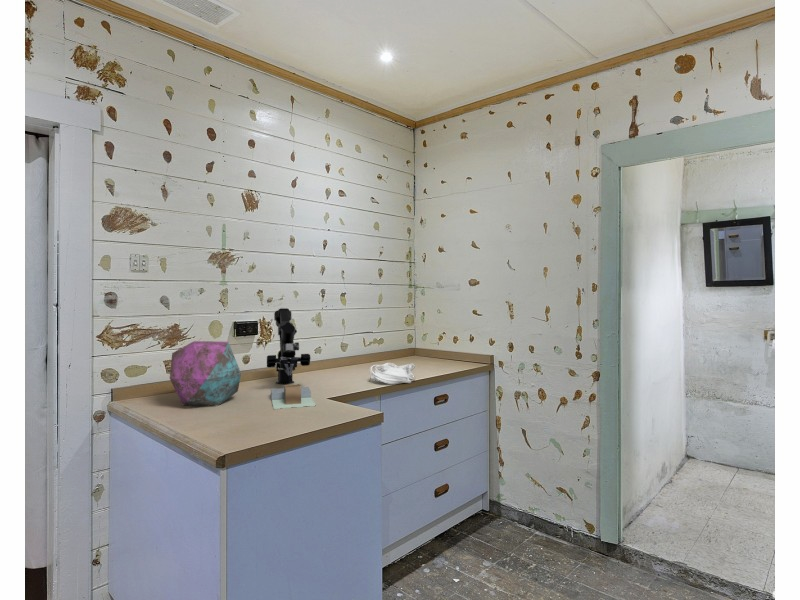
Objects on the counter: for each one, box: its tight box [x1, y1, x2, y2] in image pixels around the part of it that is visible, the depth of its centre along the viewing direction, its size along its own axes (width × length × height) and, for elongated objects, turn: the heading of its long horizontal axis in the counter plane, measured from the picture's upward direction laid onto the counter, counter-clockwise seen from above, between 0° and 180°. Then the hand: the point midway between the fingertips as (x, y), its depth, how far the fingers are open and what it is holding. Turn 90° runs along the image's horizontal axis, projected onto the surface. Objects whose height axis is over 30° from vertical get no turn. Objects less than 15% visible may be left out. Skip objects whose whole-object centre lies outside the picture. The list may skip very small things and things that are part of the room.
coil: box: [369, 362, 416, 385], centre depth 239 cm, size 25×24×9 cm
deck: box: [270, 386, 312, 401], centre depth 204 cm, size 9×16×3 cm, turn 108°
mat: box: [271, 396, 316, 410], centre depth 193 cm, size 14×16×1 cm
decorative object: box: [169, 340, 242, 406], centre depth 194 cm, size 30×30×30 cm
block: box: [283, 383, 302, 405], centre depth 195 cm, size 6×6×9 cm
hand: (289, 376), depth 208 cm, fingers closed
